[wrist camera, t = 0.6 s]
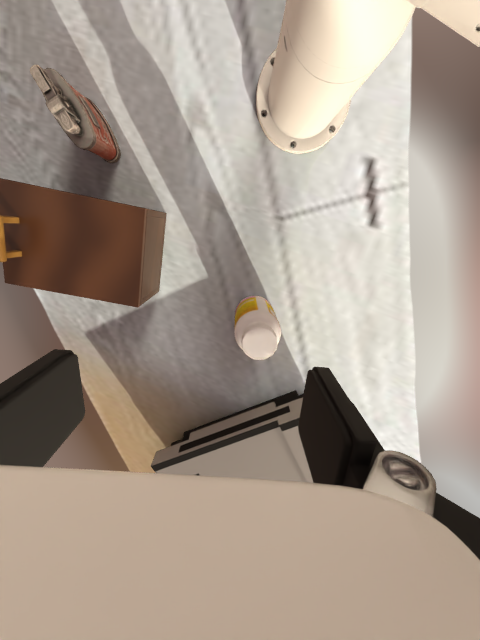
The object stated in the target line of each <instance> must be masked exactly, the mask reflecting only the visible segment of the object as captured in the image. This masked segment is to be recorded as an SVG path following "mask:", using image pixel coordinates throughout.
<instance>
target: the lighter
mask: <svg viewBox="0 0 480 640" xmlns="http://www.w3.org/2000/svg"><path fill="white" fill-rule="evenodd" d="M30 72H31V74H32V76H33V78H34V79H35V81H36V83H37V84H38V86H39V88H40V89H41V91H42V93H43V95H44V97H45V100H46V105H47V107H48V109H49V110H50V111H51V113H52V114H53V115H54V117H55V119H56V120H57V121H58V123H59V124H60V126H61V127H62V129H63V130H64V132H65V133H66V134H67V135H68V137H69V138H70V139H71V140H72V141H73V143H74V144H75V145H76V146H77V147H79V148H81V149H84V150H89V151H91V152H93V153H95V154H97V155H98V156H100V157H102V158H103V159H104V160H105V161H107V162H109V163H115V162H117V161H118V160H119V159H120V156H121V152H120V149H119V146H118V143H117V141H116V138H115V136H114V134H113V132H112V130H111V128H110V126H109V124H108V123H107V121H106V119H105V118H104V116H103V115H102V113H101V112H100V111H99V109H98V108H97V107H96V106H95V104H94V103H93V102H92V101H91V100H89V99H88V98H86V97H83V96H82V95H81V94H80V93H79V92H78V91H76V90H75V89H74V88H73V87H72V86H70V85H69V84H68V83H67V82H66V81H65V79H64V78H63V77H62V76H61V75H60V74H59V73H58V72H57V71H56V70H54V69H51V68H46V69H44V70H43V69H42V68H41V67H40V66H38V65H33V66H32V67H31V68H30Z"/></svg>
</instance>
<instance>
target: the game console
mask: <svg viewBox="0 0 480 640" xmlns="http://www.w3.org/2000/svg"><path fill="white" fill-rule="evenodd" d="M303 395H304V394H302V395H299V396H298V394H297V391H293V392H290V393H288V394H285V395H282V396H280V397H277V398H274V399H272V400H269V401H266V402H264V403H261V404H258V405H256V406H253V407H250V408H248V409H245V410H242V411H240V412H237V413H235V414H232V415H229V416H227V417H224V418H221V419H219V420H216V421H213V422H211V423H208V424H205V425H203V426H200V427H197V428H195V429H192V430H189V431H187V432H184V435H183V439H181V440H178V441H176V442H173V443H172V444H171V446H170V447H167V448H165V449H162V450H159V451H157V452H156V454H155V457H154V459H153V462H152V464H151V467H152V468H153V470H154V471H155V472H156V473H161V474H179V475H197V476H214V477H231V478H247V479H264V480H280V481H297V482H308V483H313V479H312V476H311V472H310V469H309V466H308V462H307V459H306V456H305V452H304V449H303V446H302V442H301V439H300V435H299V431H298V423H299V417H300V412H301V406H302V401H303Z"/></svg>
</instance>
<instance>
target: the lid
mask: <svg viewBox="0 0 480 640" xmlns="http://www.w3.org/2000/svg"><path fill="white" fill-rule="evenodd" d="M146 217H147V209H146V208H141V207H136V206H131V205H127V204H122V203H117V202H112V201H107V200H102V199H98V198H93V197H88V196H83V195H78V194H74V193H69V192H64V191H59V190H54V189H50V188H45V187H40V186H35V185H30V184H25V183H21V182H16V181H11V180H6V179H1V178H0V262H3V268H4V278H5V283H8V284H14V285H19V286H25V287H30V288H35V289H41V290H46V291H52V292H57V293H63V294H68V295H74V296H79V297H84V298H90V299H95V300H101V301H106V302H112V303H117V304H123V305H128V306H133V307H139V306H140V301H141V287H142V273H143V259H144V245H145V231H146Z"/></svg>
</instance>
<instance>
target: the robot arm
mask: <svg viewBox="0 0 480 640" xmlns="http://www.w3.org/2000/svg"><path fill="white" fill-rule="evenodd" d="M415 7H417V8H422V9H423V10H425V11H426V12H428V13H429V14H431V15H432V16H434V17H435V18H437V19H438V20H440V21H441V22H443V23H444V24H446V25H447V26H449V27H450V28H452V29H453V30H454V31H456V32H457V33H459V34H460V35H462V36H463V37H465V38H466V39H468V40H469V41H471V42H472V43H474V44H475V45H477V46H478V47H480V0H287V1H286V6H285V11H284V16H283V21H282V26H281V31H280V36H279V41H278V46H277V49H276V50H275V51H274V52H273V53H272V54H271V55H270V57H269V58H268V60H267V61H266V63H265V65H264V67H263V69H262V72H261V74H260V77H259V81H258V85H257V92H256V109H257V116H258V119H259V122H260V125H261V127H262V129H263V131H264V133H265V135H266V136H267V137H268V139H269V140H270V141H271V142H272V143H273V144H274V145H276V146H277V147H278V148H280V149H282V150H284V151H287V152H290V153H299V154H302V153H308V152H311V151H314V150H316V149H318V148H320V147H322V146H323V145H325V144H326V143H327V142H328V141H329V140H330V139H331V138H332V137H333V136H334V135H335V134H336V133H337V132H338V130H339V129H340V127H341V126H342V124H343V122H344V120H345V118H346V116H347V113H348V110H349V106H350V102H351V97H352V96H353V95H354V94H355V93H356V91H357V90H358V89H359V88H360V87H361V86H362V84H363V83H364V82H365V81H366V80H367V79H368V77H369V76H370V75H371V74H372V73H373V71H374V70H375V69H376V68H377V67H378V66H379V64H380V63H381V62H382V61H383V59H384V58H385V57H386V56H387V55H388V53H389V52H390V51H391V50H392V48H393V47H394V46H395V45H396V43H397V42H398V40H399V39H400V37H401V36H402V34H403V32H404V30H405V28H406V26H407V25H408V23H409V21H410V19H411V17H412V14H413V12H414V10H415ZM272 64H274V65H273V66H271V65H272ZM262 114H265V117H263V116H262ZM329 130H331V131H332V132H331V133H330V132H329ZM291 144H293V146H294V147H293V148H291ZM84 414H85V407H84V400H83V393H82V385H81V378H80V370H79V363H78V357H77V355H75V354H74V353H73V352H72V351H71V350H57V349H55V350H53V351H51V352H50V353H48V354H46V355H45V356H43V357H42V358H40V359H38V360H37V361H35V362H34V363H32V364H31V365H29V366H27V367H26V368H24V369H23V370H21V371H20V372H18V373H17V374H15V375H13V376H12V377H10V378H9V379H7V380H5V381H4V382H2V383H1V384H0V640H480V518H478V517H477V516H475V515H473V514H471V513H469V512H468V511H466V510H465V509H463V508H461V507H460V506H458V505H456V504H455V503H453V502H451V501H450V500H448V499H446V498H444V497H443V496H441V495H439V494H438V493H436V482H435V480H434V478H433V476H432V474H431V473H430V472H429V471H428V470H427V469H426V468H425V467H424V466H423V465H422V464H421V463H419V462H418V461H417V460H415V459H413V458H412V457H410V456H408V455H405V454H403V453H400V452H396V451H385V450H384V449H383V447H382V446H381V444H380V443H379V441H378V440H377V438H376V437H375V435H374V434H373V432H372V431H371V429H370V428H369V426H368V425H367V423H366V422H365V420H364V419H363V417H362V416H361V414H360V413H359V411H358V410H357V408H356V407H355V405H354V404H353V403H352V402H351V401H350V400H349V398H348V397H347V395H346V394H345V392H344V391H343V389H342V388H341V386H340V384H339V383H338V381H337V380H336V378H335V377H334V375H333V374H332V372H331V371H330V369H329V368H324V367H313V369H312V370H309V371H308V374H307V379H306V384H305V390H304V395H303V401H302V406H301V412H300V417H299V423H298V431H299V435H300V439H301V442H302V446H303V449H304V452H305V456H306V459H307V462H308V466H309V469H310V472H311V476H312V479H313V483H308V482H297V481H280V480H264V479H247V478H231V477H214V476H197V475H179V474H161V473H143V472H125V471H106V470H86V469H70V468H51V467H43V466H44V465H45V464H46V463H47V461H48V460H49V459H50V458H51V456H52V455H53V454H54V453H55V452H56V451H57V449H58V448H59V447H60V446H61V445H62V443H63V442H64V441H65V440H66V439H67V437H68V436H69V435H70V434H71V433H72V431H73V430H74V429H75V428H76V427H77V425H78V424H79V423H80V422H81V421H82V419H83V417H84Z"/></svg>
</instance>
